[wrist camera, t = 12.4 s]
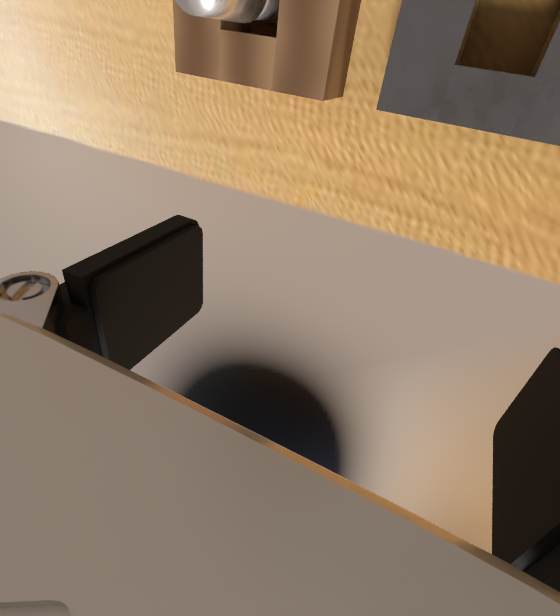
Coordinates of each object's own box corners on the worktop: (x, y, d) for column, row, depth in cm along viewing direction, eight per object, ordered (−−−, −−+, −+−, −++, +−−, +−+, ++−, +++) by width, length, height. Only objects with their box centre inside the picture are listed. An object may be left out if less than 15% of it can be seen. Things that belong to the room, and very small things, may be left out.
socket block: (697, -90, 21) (731, -116, 18) (572, 140, 28) (582, 150, 25) (439, -99, 25) (431, -121, 22) (387, 104, 32) (376, 109, 29)
